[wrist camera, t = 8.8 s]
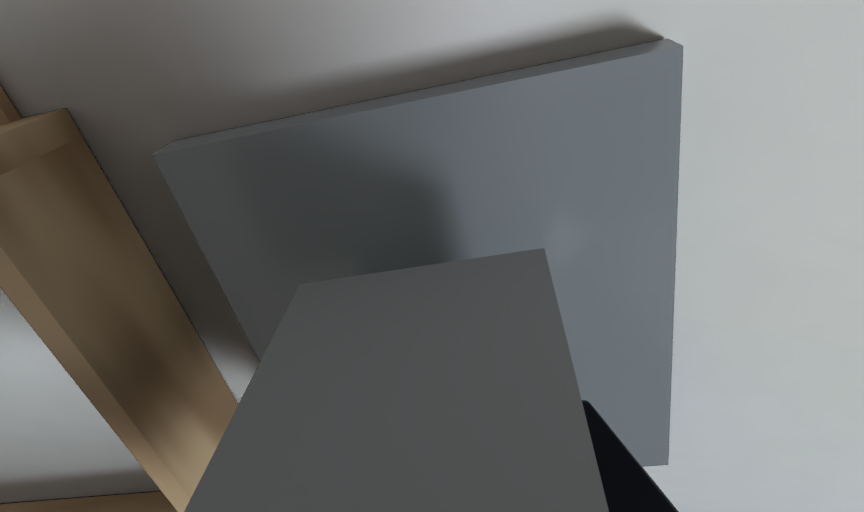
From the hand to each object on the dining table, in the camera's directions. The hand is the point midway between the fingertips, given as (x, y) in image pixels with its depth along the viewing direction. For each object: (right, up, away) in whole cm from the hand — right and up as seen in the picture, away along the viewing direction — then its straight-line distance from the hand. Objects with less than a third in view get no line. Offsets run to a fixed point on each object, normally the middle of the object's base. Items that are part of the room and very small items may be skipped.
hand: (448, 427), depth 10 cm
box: (0, +1, +1) cm, 1 cm away
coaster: (0, +2, +3) cm, 4 cm away
